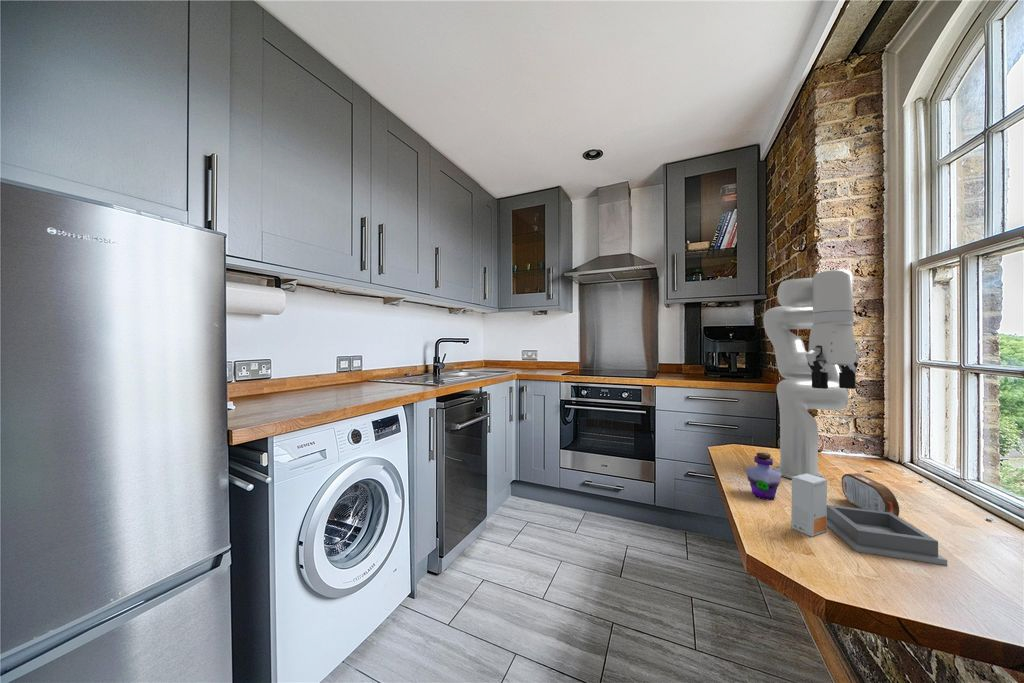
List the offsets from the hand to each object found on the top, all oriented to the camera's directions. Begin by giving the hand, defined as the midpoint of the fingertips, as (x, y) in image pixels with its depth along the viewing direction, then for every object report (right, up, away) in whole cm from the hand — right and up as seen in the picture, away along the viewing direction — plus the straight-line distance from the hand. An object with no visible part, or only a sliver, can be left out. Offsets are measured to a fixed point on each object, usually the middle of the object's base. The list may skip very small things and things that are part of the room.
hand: (833, 388), depth 86 cm
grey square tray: (-1, -32, -11) cm, 33 cm away
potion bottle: (-9, -32, +11) cm, 35 cm away
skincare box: (-12, -32, -7) cm, 35 cm away
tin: (+11, -32, +2) cm, 34 cm away
